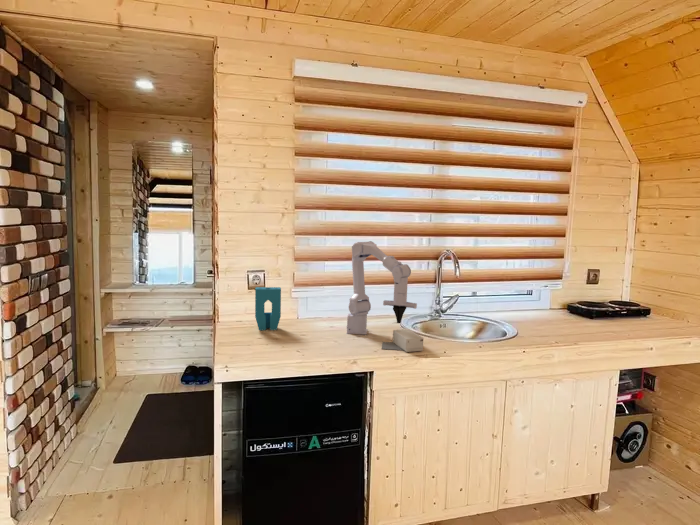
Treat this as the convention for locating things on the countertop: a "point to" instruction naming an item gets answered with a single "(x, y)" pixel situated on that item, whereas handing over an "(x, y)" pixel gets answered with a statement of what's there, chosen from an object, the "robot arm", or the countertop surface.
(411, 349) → the skincare box
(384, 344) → the mat
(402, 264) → the robot arm
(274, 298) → the block
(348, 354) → the countertop surface
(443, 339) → the countertop surface
